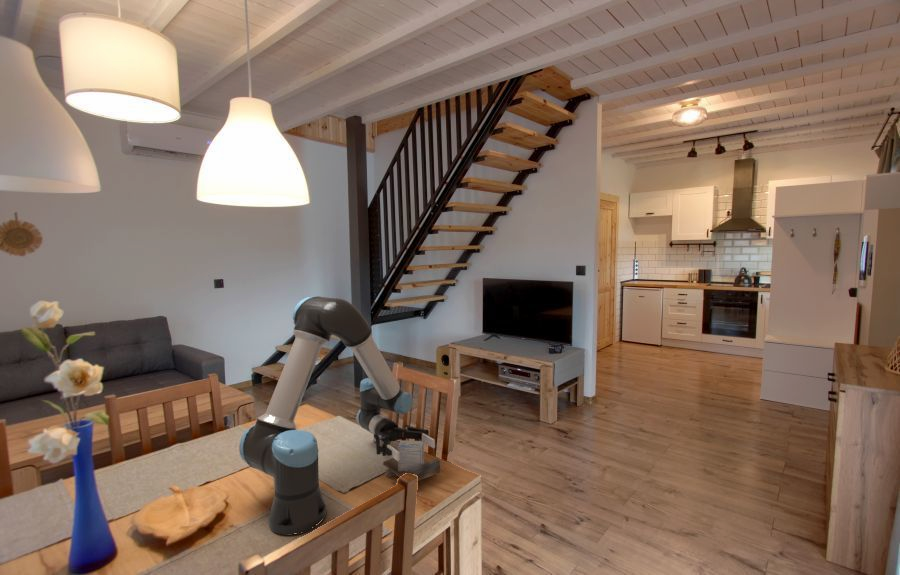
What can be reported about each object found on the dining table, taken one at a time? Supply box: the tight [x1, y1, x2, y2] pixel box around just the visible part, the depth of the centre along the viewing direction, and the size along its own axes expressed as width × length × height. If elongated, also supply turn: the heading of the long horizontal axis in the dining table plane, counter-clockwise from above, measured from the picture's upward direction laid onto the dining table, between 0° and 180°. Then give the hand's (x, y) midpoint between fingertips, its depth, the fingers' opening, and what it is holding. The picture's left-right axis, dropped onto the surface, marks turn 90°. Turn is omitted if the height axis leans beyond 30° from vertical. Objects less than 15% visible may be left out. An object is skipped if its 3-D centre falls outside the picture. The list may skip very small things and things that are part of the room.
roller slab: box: [382, 457, 441, 482], centre depth 141 cm, size 13×16×6 cm
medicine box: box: [397, 439, 425, 472], centre depth 138 cm, size 8×4×9 cm, turn 83°
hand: (416, 450), depth 135 cm, fingers open, 13 cm apart
